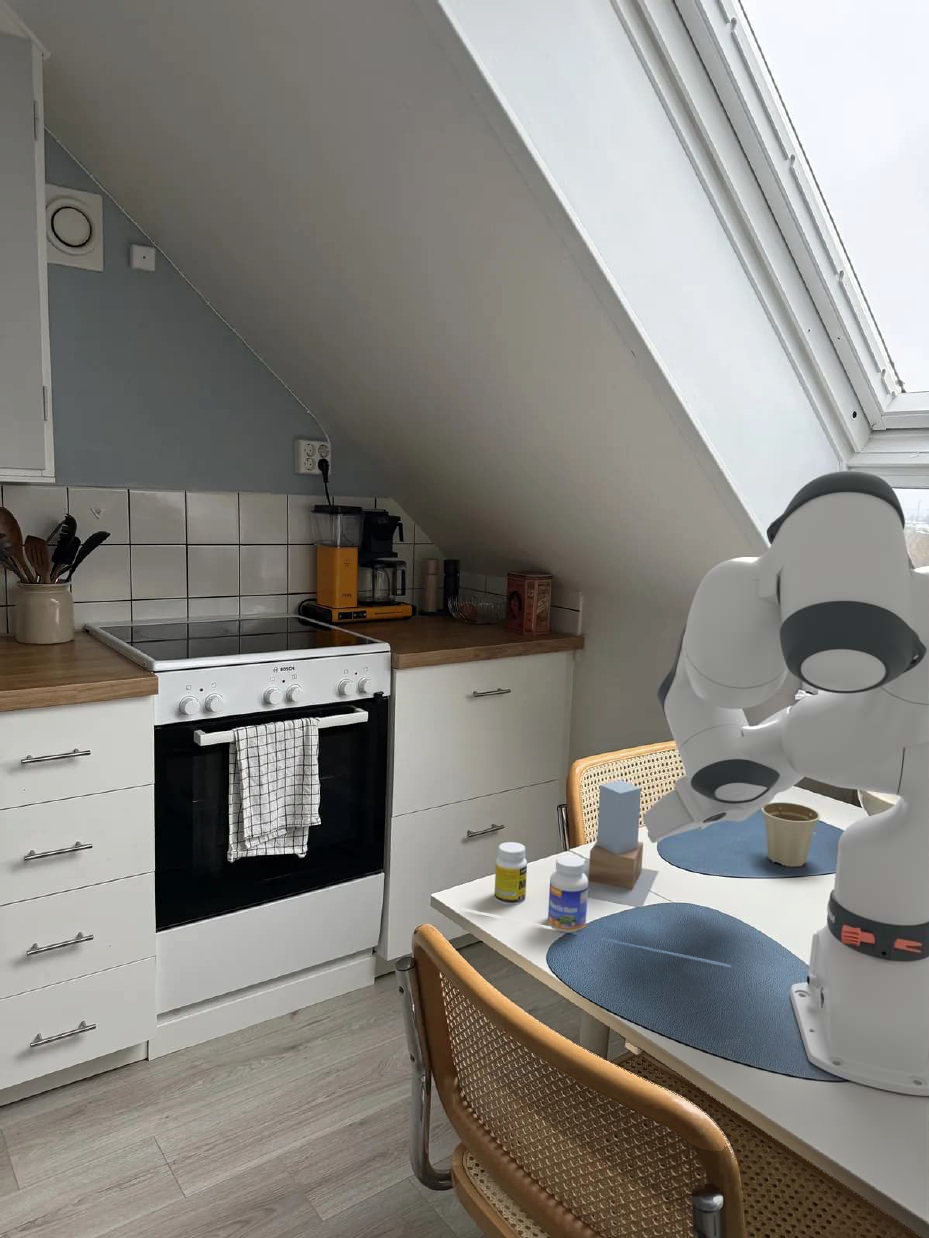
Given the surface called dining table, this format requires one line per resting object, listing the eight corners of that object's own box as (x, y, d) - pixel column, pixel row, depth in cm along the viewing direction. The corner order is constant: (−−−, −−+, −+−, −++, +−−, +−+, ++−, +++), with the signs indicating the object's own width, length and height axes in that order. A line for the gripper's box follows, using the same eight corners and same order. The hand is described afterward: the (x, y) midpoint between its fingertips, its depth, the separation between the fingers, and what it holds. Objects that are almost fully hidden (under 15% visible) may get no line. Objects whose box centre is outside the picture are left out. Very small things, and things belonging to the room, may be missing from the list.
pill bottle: (542, 928, 131) (545, 863, 130) (555, 912, 136) (557, 849, 135) (579, 937, 129) (582, 871, 127) (590, 920, 134) (594, 857, 132)
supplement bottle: (523, 908, 137) (525, 854, 136) (491, 904, 138) (493, 851, 137) (527, 894, 142) (529, 842, 140) (497, 890, 143) (499, 839, 141)
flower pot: (745, 853, 160) (749, 805, 158) (787, 845, 163) (791, 798, 162) (785, 875, 151) (789, 824, 150) (828, 866, 155) (832, 817, 154)
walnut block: (632, 889, 143) (634, 858, 143) (588, 880, 146) (590, 850, 145) (641, 871, 150) (643, 842, 149) (599, 864, 152) (600, 835, 152)
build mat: (641, 910, 138) (641, 907, 138) (563, 894, 142) (563, 892, 142) (658, 873, 150) (658, 871, 150) (586, 860, 155) (586, 858, 155)
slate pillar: (637, 848, 147) (641, 788, 145) (617, 854, 144) (620, 793, 142) (617, 838, 150) (620, 780, 149) (597, 844, 148) (600, 784, 146)
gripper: (768, 755, 135) (711, 799, 145) (671, 779, 124) (616, 825, 133) (792, 794, 132) (732, 836, 142) (694, 821, 121) (636, 865, 130)
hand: (675, 831), depth 137 cm, fingers open, 8 cm apart
